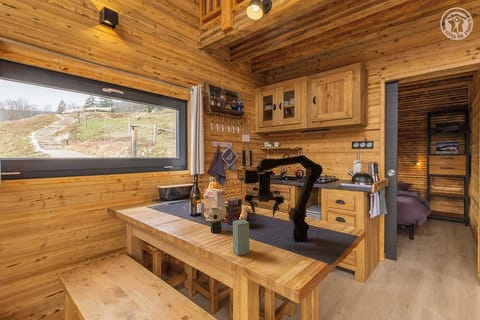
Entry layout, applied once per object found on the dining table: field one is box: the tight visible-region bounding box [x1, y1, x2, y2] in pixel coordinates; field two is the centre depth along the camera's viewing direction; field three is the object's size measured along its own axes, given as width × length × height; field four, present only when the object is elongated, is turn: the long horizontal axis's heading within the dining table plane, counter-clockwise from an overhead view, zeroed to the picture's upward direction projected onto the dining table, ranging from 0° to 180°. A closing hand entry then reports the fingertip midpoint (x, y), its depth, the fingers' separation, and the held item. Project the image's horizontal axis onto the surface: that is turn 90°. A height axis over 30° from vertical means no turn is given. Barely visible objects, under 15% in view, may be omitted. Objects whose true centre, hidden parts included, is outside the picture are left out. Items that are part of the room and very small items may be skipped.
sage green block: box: [232, 218, 250, 256], centre depth 99 cm, size 5×5×13 cm
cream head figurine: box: [208, 207, 225, 234], centre depth 125 cm, size 11×7×13 cm, turn 61°
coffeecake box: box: [203, 187, 226, 218], centre depth 152 cm, size 15×7×20 cm, turn 45°
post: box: [233, 250, 250, 256], centre depth 99 cm, size 6×6×4 cm
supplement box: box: [227, 197, 243, 228], centre depth 136 cm, size 9×5×16 cm, turn 143°
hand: (263, 215), depth 110 cm, fingers open, 9 cm apart
